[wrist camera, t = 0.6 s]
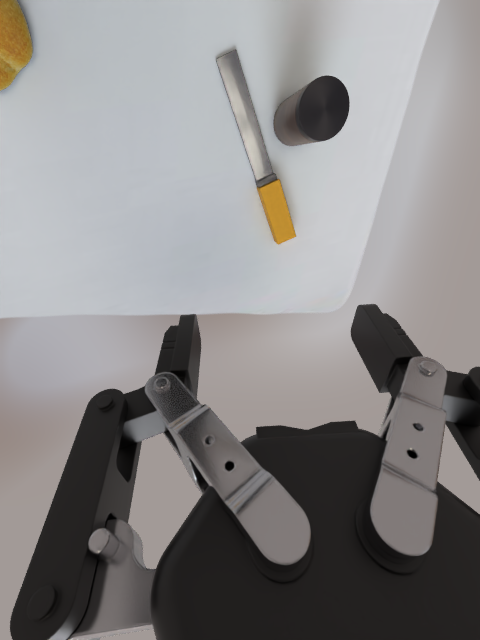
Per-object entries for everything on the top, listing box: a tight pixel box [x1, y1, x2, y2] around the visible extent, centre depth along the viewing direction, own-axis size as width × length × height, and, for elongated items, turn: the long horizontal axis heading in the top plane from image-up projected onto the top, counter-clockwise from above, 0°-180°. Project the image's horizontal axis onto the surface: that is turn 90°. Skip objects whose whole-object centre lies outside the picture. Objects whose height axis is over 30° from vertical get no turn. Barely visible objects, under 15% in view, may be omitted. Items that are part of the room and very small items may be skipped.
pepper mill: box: [274, 76, 349, 146], centre depth 28 cm, size 5×5×9 cm
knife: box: [216, 49, 296, 244], centre depth 33 cm, size 20×3×2 cm, turn 22°
